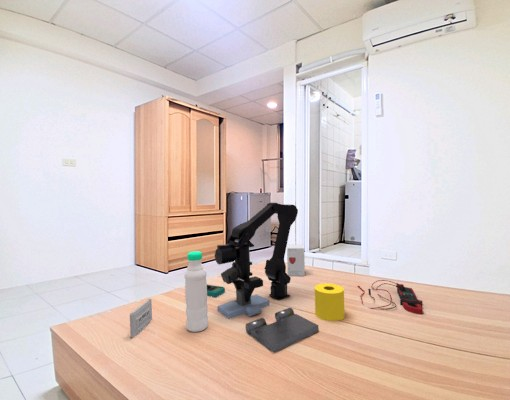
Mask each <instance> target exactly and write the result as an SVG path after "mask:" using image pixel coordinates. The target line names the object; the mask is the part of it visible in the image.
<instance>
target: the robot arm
mask: <svg viewBox="0 0 510 400" xmlns="http://www.w3.org/2000/svg"><path fill="white" fill-rule="evenodd" d="M298 211H299V210H298V208H297V206H296V205H294V204H282V203H278V202H269V203H267V204H266V205H264V207H263V208H262V209H261V210H259V211H258V212H257V213H255V215H253V216H252V217H251V218H250V219H249V220H247V221H245V222H242V223H239V224H238V225H237V226H235V227H233V228H232V230H231V234H230V236H229V238H228V239H227V241H226V243H225V244H217V245H216V247H217V248H216V250H215V253H214V259H215V262H216V263H217V265H225V264H229V263H232V264H231V267H229V268H227V269H225V270H223V272H221V273H220V276H221V278H222V281H223V283H225V284H227V285H231V284H233V285H234V289H235V291H236V290H238V289H242V288H243V289H244V295H245V301H246V302H249V300H250V297H251V296H252V295H253V292H254V291H255V289H258V288H261V287H264V279H262V278H261V277H260V276H259V277H258V276H256V275H255V276H253V272H251V266H252V265H253V261H251V259H250V255H251V254H250V253H251V251H250V248H254V247H255V244H254V243H253V242H252V241H251V240H252V239H253V237H254V236H255V234H256V232H257V230H258V229H259V228H260V227H261V226H262V225H263V224H264V223H266V222H267V221H268V220H269V219H271V217H272V216H274V215H275V214H277V220H278V223H279V224H278V229H277V234H276V236H275V237H276V238H275V242H274V246H273V252H272V255H271V258H270V259H266V260H265V261H266V262H265V266H264V267H263V269H264V274H265V275H266V277H267V279H268V281H271V282H270V293H269V294H268V295H269V296H270V297H272V298H274V299H275V300H277V301H278V300H279V301H280V300H283V299H285V298H289V297H290V296H291V294H289V293H288V284H290V283H291V276H288V273H287V272H286V269H287V266H286V263H285V256H286V252H287V251H286V250H287V247H288V242H289V236H290V231H291V227H292V225H293V224H294V222H295V221H296V219H297V216H298V213H299V212H298Z"/></svg>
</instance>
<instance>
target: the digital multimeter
mask: <svg viewBox="0 0 510 400" xmlns="http://www.w3.org/2000/svg"><path fill="white" fill-rule="evenodd" d="M225 292H226V287H224V286H217V285H211V284H207V297H211V296H212V297H211V298H217V296H218V297H220V296H221V295H223V294H224V293H225ZM219 295H220V296H219Z"/></svg>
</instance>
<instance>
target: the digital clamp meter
mask: <svg viewBox="0 0 510 400" xmlns="http://www.w3.org/2000/svg"><path fill="white" fill-rule="evenodd" d="M381 281H382V282H383V281H385V282H390V283H381V284H380V285H378V286H377V287H376V288H374V287H373V285H374V284H375V283H377V282H381ZM391 283H392V284H391ZM382 285H390V286H393V287H396V293H397V295H398V297H399V299H400V300H399V302H400V306H402V308H403V309H404V310H405V311H407V312H409V313H410V314H415V315H423V300H421V299H418V297H417V295H416V293H415V291H414V289H413V288H412V287H406V286H405V285H404V284H403V283H398V282H393V281H391V280H386V279H385V280H384V279H379V280H376V281H374V282H373V283H372V284H371V288H370V287H369V288H368V289H367V290H368V295H369V296H370V297H371V298H373V299H375V297H374V296H372V294H371V291H372V289H373V290H375V291H385V292H387V293H388V294H389V297H390V299H388V298H386V297H383V296H382V295H380V294H379V293H377V295H378V296H379V297H381V298H382V299H385V300H387V301H389V302H390V303H389V304H387V305H383V306H377V307H367V309H370V310H372V309H374V310H375V309H379V310H383V308H384V307H386V310H391V309H395V308H397V304H396V302H394V301H393V300H392V295H391V293H390V292H389V291H388V290H387V289H380V288H379V287H381V286H382ZM357 288H358V289H359V290H361V291H362V292H363V293H361V294H360V295H359V297H360V300H361V304H362V305H364V301H363V298H362V295H364V294H365V290H364V289H363V288H362V287H361V286H360V285H357ZM378 288H379V289H378ZM392 303H393V305H395V306H394V307H390V308H389V307H388V306H390V305H391V304H392ZM387 307H388V308H387Z"/></svg>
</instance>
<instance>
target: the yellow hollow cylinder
mask: <svg viewBox="0 0 510 400" xmlns="http://www.w3.org/2000/svg"><path fill="white" fill-rule="evenodd" d="M314 314H315V316H316V317H317V318H319V319H320V320H323V321H327V322H338V321H342V320H343V319H345V316H346V315H345V289H344V287H343V286H342V285H340V284H335V283H328V282H327V283H326V282H325V283H320V284H319V283H318V284H316V285H315V286H314Z"/></svg>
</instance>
